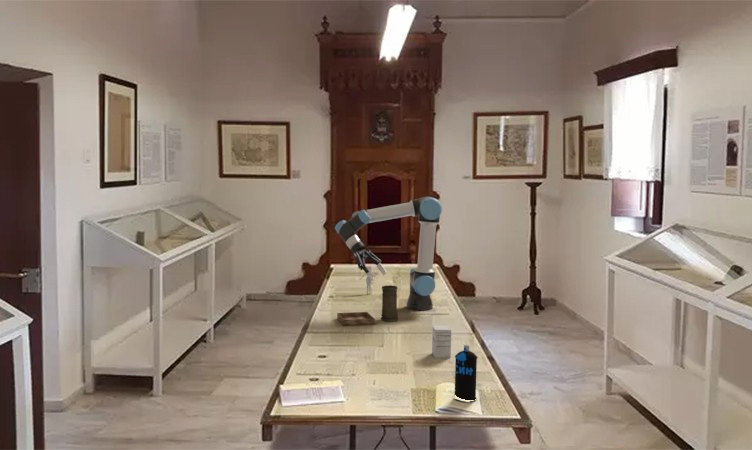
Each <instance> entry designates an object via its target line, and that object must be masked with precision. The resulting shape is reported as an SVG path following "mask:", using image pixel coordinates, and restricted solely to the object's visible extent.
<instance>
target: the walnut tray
mask: <svg viewBox="0 0 752 450" xmlns="http://www.w3.org/2000/svg"><path fill="white" fill-rule="evenodd" d="M336 316H337V317H336V319H337V320H338V322H339V323H340V324H341V325H342V326H343V327H348V326H349V327H350V326H351V327H352V326H368V325H371V326H373V325H376V318H375V317H374V316H373V315H371V313H369V312H368V311H355V312H353V311H352V312H338V313H336Z"/></svg>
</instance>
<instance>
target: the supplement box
mask: <svg viewBox="0 0 752 450" xmlns="http://www.w3.org/2000/svg"><path fill="white" fill-rule="evenodd" d="M431 334H432V338H431V339H432V341H431V345H432V346H431V354H432V355H433V356H434V358H437V359H444V358H445V359H446V358H448V359H450V358H451V357H452V356H451V355H452V329H451V328H450V327H449V325H432V333H431Z"/></svg>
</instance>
